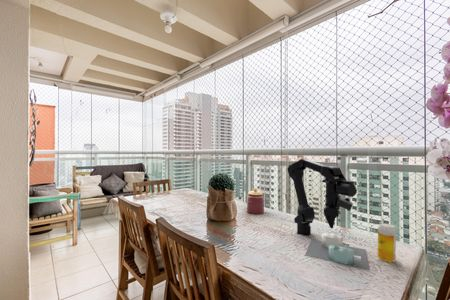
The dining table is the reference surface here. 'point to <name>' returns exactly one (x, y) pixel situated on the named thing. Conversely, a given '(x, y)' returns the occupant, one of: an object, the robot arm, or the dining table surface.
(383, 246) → the beer can
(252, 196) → the canister
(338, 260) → the teal connector
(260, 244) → the dining table surface
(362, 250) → the rubber mat
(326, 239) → the white rounded piece
